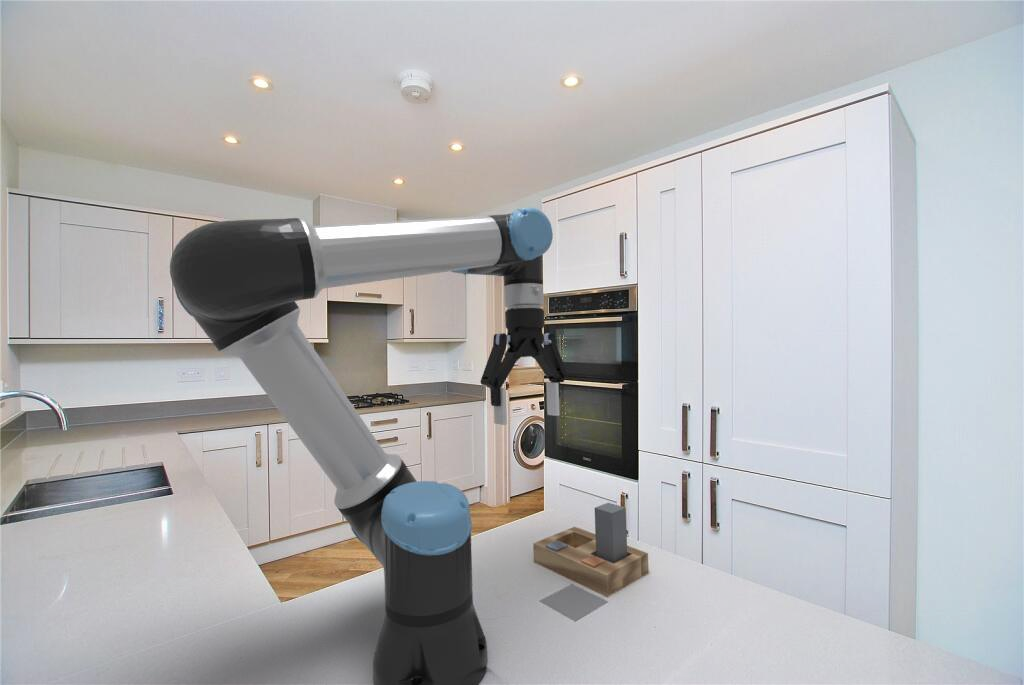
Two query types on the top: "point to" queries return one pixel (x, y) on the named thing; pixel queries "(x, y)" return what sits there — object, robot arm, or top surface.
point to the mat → (573, 602)
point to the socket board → (585, 573)
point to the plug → (611, 532)
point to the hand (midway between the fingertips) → (528, 419)
